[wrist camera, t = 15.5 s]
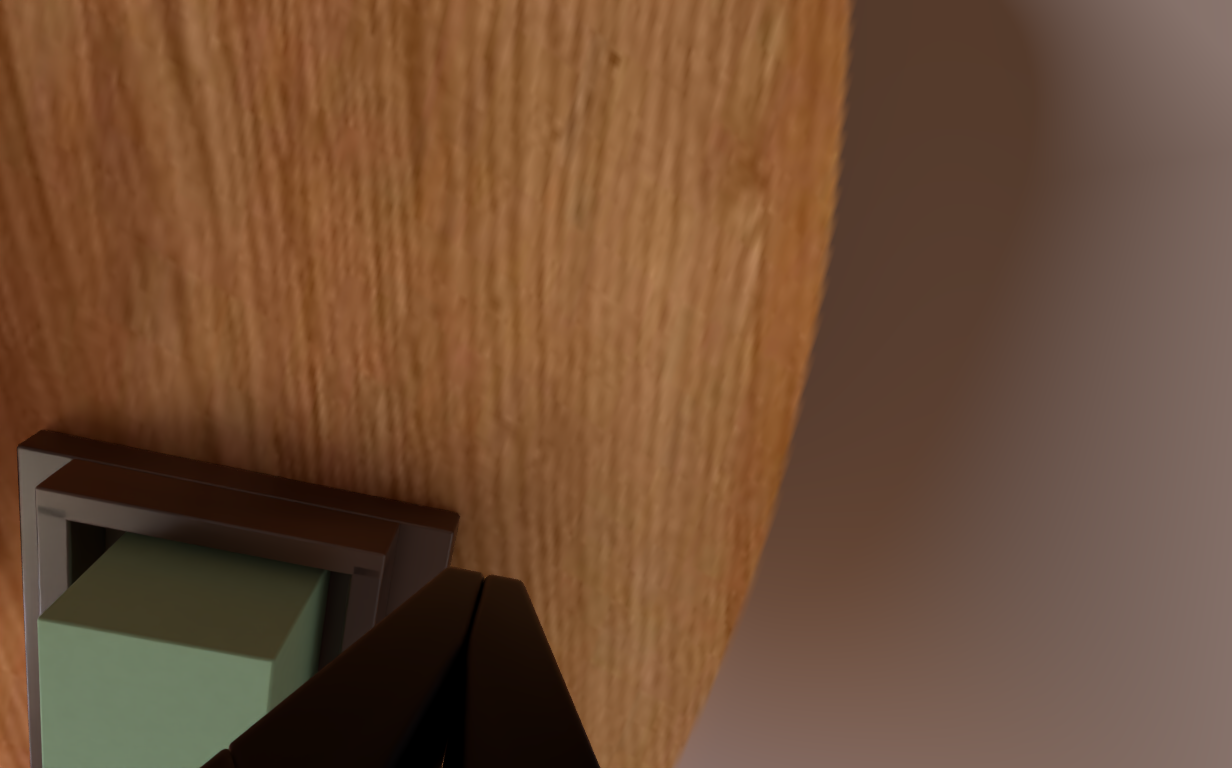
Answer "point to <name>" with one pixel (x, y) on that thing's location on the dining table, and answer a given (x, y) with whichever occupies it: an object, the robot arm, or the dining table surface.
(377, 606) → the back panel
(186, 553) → the pad
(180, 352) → the dining table surface
